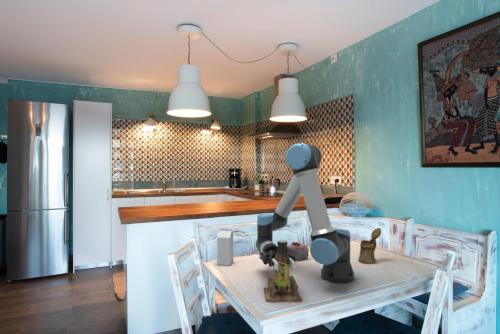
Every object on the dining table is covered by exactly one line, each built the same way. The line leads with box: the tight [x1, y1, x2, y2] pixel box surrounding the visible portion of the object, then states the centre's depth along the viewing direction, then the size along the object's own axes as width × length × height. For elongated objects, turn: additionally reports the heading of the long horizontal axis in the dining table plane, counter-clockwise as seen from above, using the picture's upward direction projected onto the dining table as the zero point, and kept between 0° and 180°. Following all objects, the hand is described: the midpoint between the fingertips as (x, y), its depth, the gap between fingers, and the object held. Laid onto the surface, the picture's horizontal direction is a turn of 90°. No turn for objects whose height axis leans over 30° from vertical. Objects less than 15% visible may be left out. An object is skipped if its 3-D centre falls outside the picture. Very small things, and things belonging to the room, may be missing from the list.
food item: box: [287, 241, 310, 262], centre depth 182 cm, size 14×8×10 cm, turn 117°
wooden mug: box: [357, 227, 382, 265], centre depth 178 cm, size 9×14×18 cm, turn 111°
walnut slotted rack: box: [263, 275, 303, 303], centre depth 131 cm, size 14×12×6 cm
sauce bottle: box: [273, 239, 291, 291], centre depth 131 cm, size 6×6×20 cm
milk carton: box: [216, 228, 234, 267], centre depth 174 cm, size 7×7×19 cm
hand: (285, 266), depth 126 cm, fingers closed on sauce bottle, 6 cm apart
